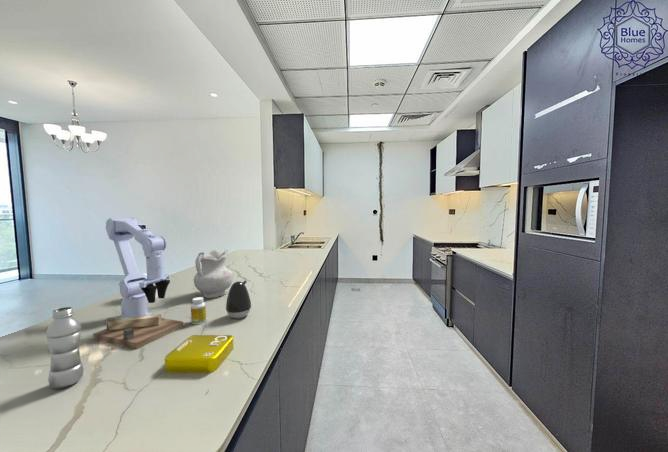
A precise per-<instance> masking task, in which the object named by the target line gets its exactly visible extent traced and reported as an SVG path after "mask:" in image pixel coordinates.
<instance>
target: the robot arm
mask: <svg viewBox="0 0 668 452" xmlns="http://www.w3.org/2000/svg"><path fill="white" fill-rule="evenodd" d="M105 229H106V230H105V231H106V233H107V236H108V239H109V240H111V241H113V243H114V246H115V249H116V252H117V255H118V259H119V261H120V262H119V263H120V265H121V268H122V270H123V274H124V277H123V278H122V279H121V280H120V281H119V283H118V285H119V293H120V295H121V297H122V300H121V302H120V312H121V313H120V314H121V316H119V317H118V318H128V317H138V316H142V315H147V316H148V315H154V314H153V312H149V311H148V304H154V303H155V302H156V298H155V294H156V289H157V293H158V296H157V298H158V299H165V297H166V292H167V290H168V287H169V284H170V283H171V280H170V279H171V273H165V270H164V267H165V265H164V251H165V249H166V247H167V242H166V239H165V238H164V237H163V236H156V235H154V234H153V233H152V232H151V231H150V230H149V229H147V228H141V227H140V226H139V225H138V221H137V219H135V218H134V217H128V218H127V217H126V218H123V217H122V218H121V217H120V218H113V217H111V218H108V219H107V220H106V222H105ZM133 238H134V240H135V241H136V242H137V243H138V244H140V245H141V247H142V251H143V254H144V257H145V262H146V265H145V266H146V273H147V275H145V274H144V273H142V272H140V271H139V268H138V265H137V262H136V259H135V256H134V253H133V250H132V247H131V245H130V240H131V239H133ZM154 283H155V285H156V286H154V285H153V284H154Z"/></svg>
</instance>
